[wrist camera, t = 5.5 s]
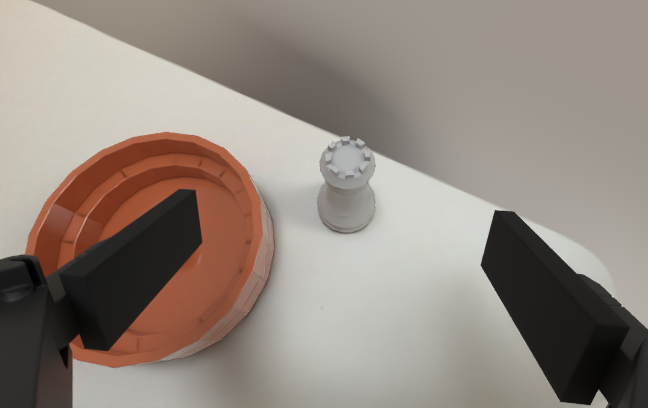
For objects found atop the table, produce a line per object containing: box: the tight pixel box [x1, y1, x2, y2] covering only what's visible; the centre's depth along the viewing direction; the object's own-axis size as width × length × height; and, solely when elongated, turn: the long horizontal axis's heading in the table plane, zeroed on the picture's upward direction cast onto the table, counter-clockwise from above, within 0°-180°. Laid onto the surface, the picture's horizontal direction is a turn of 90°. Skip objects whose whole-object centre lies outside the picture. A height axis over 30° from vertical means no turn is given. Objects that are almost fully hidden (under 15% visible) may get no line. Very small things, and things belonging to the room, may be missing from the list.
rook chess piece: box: [317, 136, 376, 233], centre depth 22 cm, size 4×4×8 cm
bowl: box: [25, 132, 274, 368], centre depth 23 cm, size 15×15×4 cm
